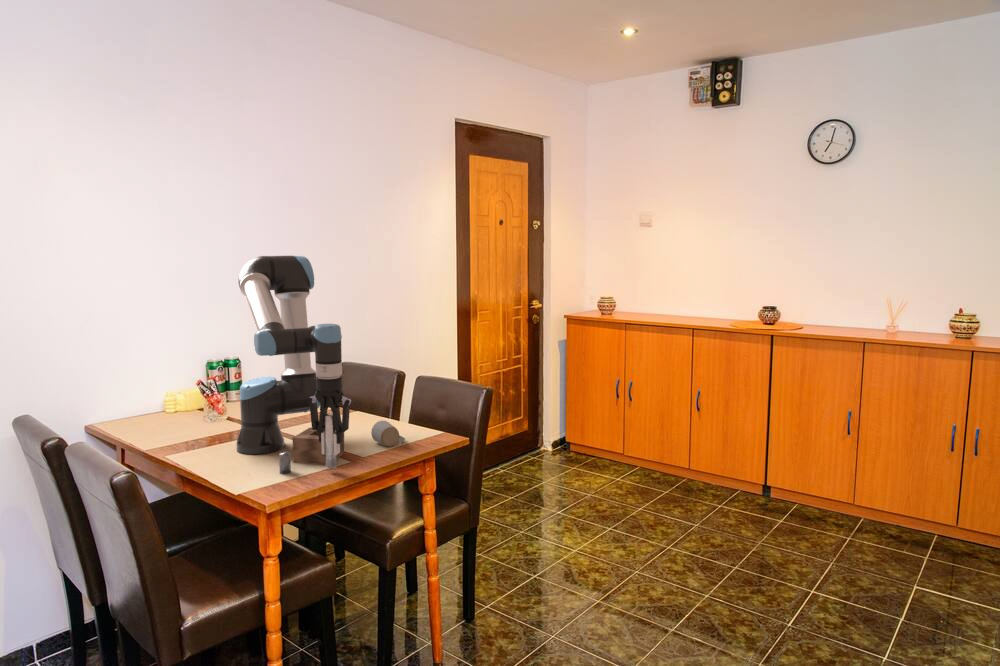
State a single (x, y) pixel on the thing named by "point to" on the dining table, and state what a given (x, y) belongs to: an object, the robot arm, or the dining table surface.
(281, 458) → the short pin
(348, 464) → the dining table surface
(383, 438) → the ceramic mug
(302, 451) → the hole block
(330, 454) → the tall pin
